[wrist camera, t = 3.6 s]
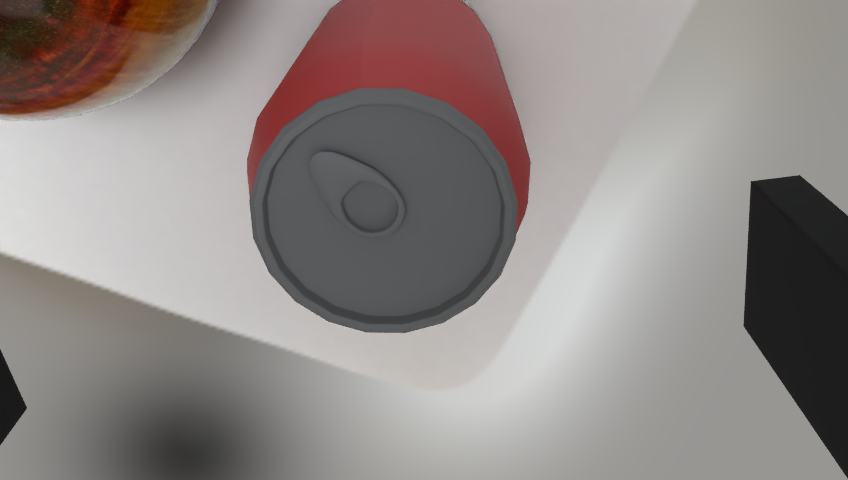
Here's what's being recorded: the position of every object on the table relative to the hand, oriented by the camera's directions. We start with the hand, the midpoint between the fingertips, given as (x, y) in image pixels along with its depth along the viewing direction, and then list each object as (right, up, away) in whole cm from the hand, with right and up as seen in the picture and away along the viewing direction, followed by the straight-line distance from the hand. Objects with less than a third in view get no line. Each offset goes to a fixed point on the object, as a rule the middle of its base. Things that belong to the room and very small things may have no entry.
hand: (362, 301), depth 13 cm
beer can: (0, +7, +14) cm, 15 cm away
